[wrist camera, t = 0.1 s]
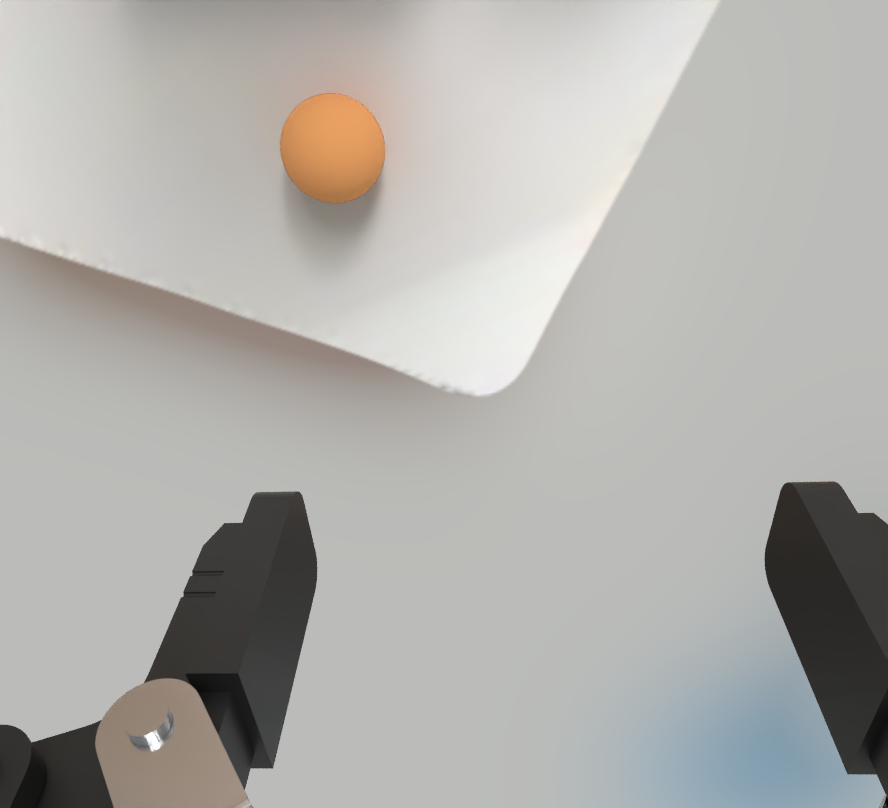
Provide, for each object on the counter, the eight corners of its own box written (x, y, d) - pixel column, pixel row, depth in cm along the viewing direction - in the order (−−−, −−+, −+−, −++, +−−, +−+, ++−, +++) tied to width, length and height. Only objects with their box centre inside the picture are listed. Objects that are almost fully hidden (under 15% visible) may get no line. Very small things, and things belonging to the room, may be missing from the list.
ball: (284, 86, 36) (259, 110, 32) (384, 80, 36) (372, 104, 32) (301, 186, 39) (280, 220, 35) (394, 181, 39) (384, 215, 35)
